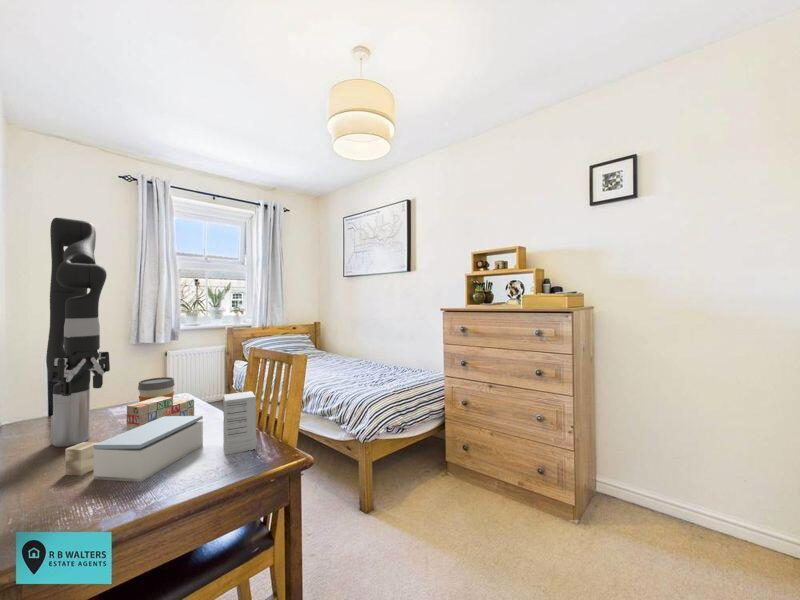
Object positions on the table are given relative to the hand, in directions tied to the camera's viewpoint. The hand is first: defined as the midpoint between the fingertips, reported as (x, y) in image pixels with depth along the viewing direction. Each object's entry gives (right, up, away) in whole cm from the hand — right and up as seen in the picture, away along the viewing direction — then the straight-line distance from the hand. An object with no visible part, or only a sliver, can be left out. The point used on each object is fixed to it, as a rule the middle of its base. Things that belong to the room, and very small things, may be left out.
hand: (82, 391), depth 100 cm
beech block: (0, -22, 0) cm, 22 cm away
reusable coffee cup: (-12, -23, +48) cm, 54 cm away
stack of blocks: (+2, -23, +31) cm, 38 cm away
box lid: (+16, -14, +6) cm, 22 cm away
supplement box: (+37, -22, +15) cm, 46 cm away
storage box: (+16, -22, +6) cm, 28 cm away
